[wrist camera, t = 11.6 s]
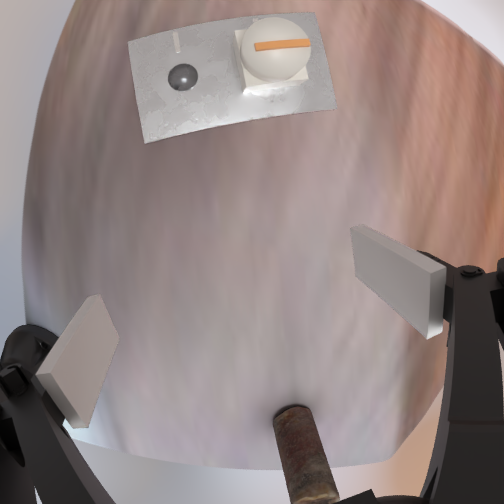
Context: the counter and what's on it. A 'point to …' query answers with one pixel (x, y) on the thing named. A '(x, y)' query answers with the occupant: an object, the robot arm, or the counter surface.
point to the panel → (217, 79)
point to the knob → (271, 54)
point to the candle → (304, 458)
